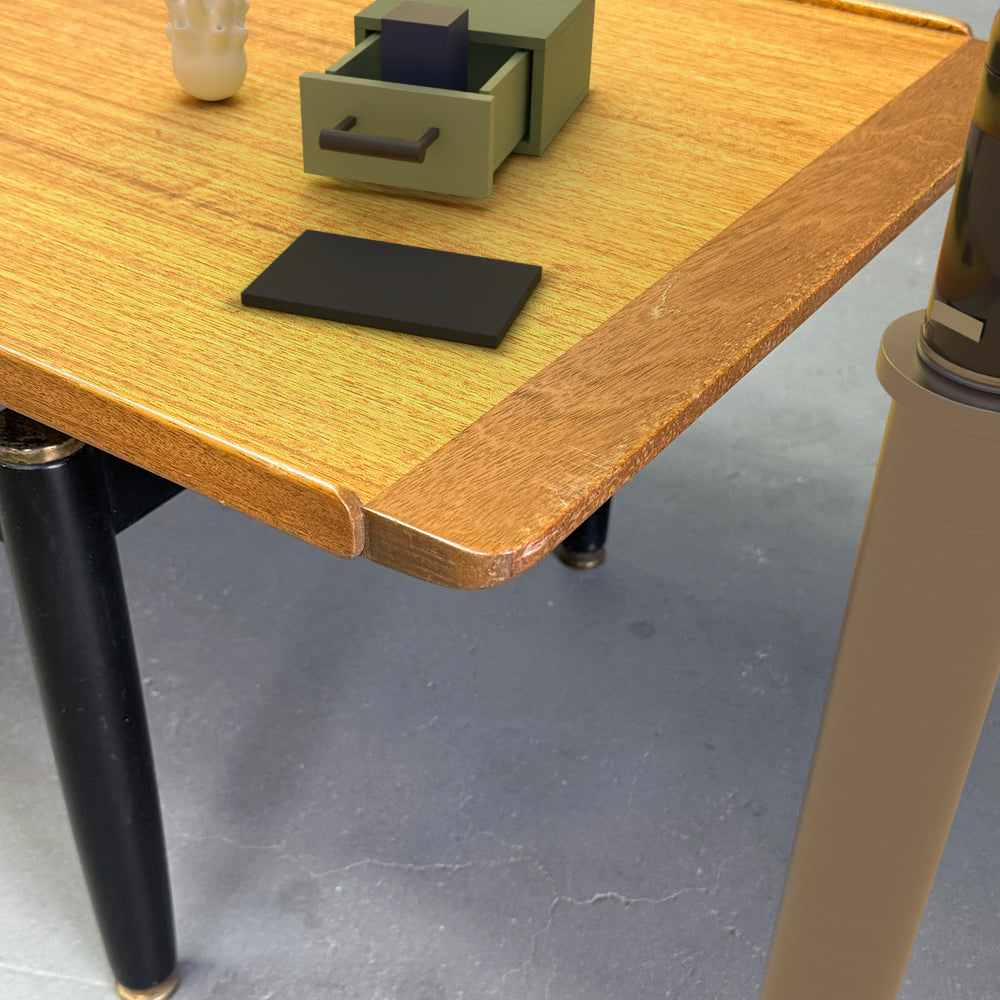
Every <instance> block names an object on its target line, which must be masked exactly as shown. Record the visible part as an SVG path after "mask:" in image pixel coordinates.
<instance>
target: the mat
mask: <svg viewBox="0 0 1000 1000" xmlns="http://www.w3.org/2000/svg"><path fill="white" fill-rule="evenodd" d="M542 277H543V266H542V265H536V264H531V263H523V262H518V261H513V260H505V259H498V258H493V257H487V256H486V257H485V256H480V255H474V254H467V253H460V252H456V251H455V252H454V251H448V250H442V249H436V248H430V247H429V248H428V247H422V246H421V247H420V246H416V245H410V244H403V243H397V242H390V241H384V240H379V239H378V240H377V239H372V238H364V237H358V236H353V235H345V234H339V233H333V232H326V231H322V230H321V231H320V230H315V229H309V228H308V229H305V230H304V231H303V232H301V234H300V235H299V236H297V238H296V239H295V240H293V242H292V243H290V244H289V246H287V248H285V250H283V251H282V252H281V254H279V255H278V256H277V257H276V258H275V259H273V261H272V262H271V263H270V264H269V265H268V266H267V267H266V268H265V269H264V270H263V271H261V273H260V274H259V275H257V277H255V279H254V280H252V281H251V283H250V284H248V285H247V286H246V287H245V288H244V289H243V291H241V292H240V302H241V305H243V306H248V307H254V308H261V309H265V310H271V311H277V312H284V313H290V314H295V315H301V316H306V317H312V318H318V319H324V320H330V321H335V322H341V323H348V324H353V325H358V326H359V325H360V326H365V327H370V328H376V329H383V330H389V331H393V332H400V333H406V334H411V335H417V336H424V337H427V338H428V337H429V338H433V339H441V340H446V341H452V342H458V343H464V344H469V345H475V346H481V347H487V348H492V349H497V348H498V346H499V345H500V343H501V342H502V341H503V338H504V337H505V335H506V334H507V332H508V331H509V329H510V327H511V325H512V324H513V323H514V322H515V319H517V316H518V315H519V314H520V312H521V310H522V309H523V307H524V305H525V304H526V302H527V301H528V300H529V297H530V296H531V295H532V293H533V291H534V290H535V288H536V287H537V285H538V284H539V282H540V280H541V279H542Z"/></svg>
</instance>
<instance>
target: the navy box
mask: <svg viewBox="0 0 1000 1000" xmlns="http://www.w3.org/2000/svg"><path fill="white" fill-rule="evenodd" d="M468 23H469V8H462V7H454V6H445V5H437V4H428V3H420V2H411V1H404V2H403V3H401V4H400V5H398V6H397V7H396V8H394V9H393V10H392V11H390V12H389V13H388V14H386V15H385V16H384V17H382V18H381V51H382V81H384V82H392V83H399V84H407V85H415V86H422V87H430V88H437V89H445V90H453V91H460V92H467V75H468Z"/></svg>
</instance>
